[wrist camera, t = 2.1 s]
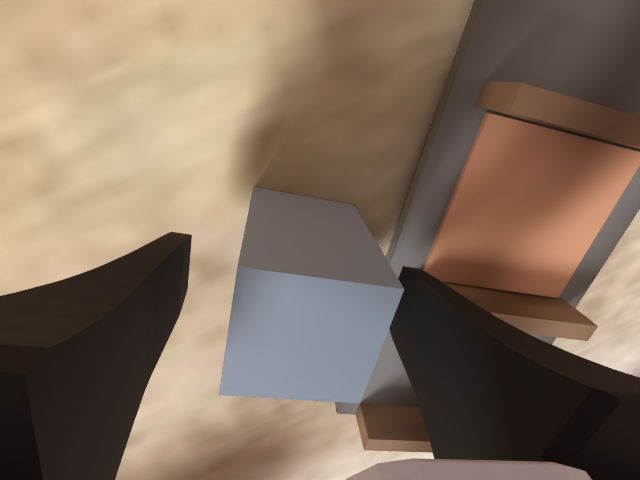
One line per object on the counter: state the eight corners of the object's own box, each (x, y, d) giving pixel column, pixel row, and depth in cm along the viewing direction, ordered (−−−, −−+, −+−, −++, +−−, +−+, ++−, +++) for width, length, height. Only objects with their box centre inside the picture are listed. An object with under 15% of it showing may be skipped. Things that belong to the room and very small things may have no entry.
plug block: (354, 205, 14) (404, 288, 8) (330, 288, 15) (360, 403, 10) (253, 186, 13) (237, 266, 8) (240, 276, 15) (219, 394, 9)
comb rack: (831, -122, 11) (986, -176, 8) (495, 413, 21) (523, 456, 18) (566, -263, 9) (671, -387, 6) (335, 403, 19) (343, 450, 16)
